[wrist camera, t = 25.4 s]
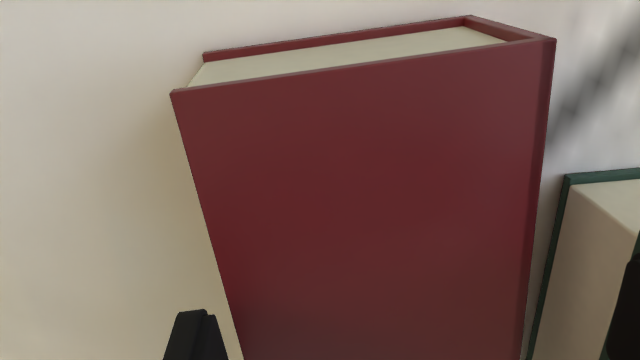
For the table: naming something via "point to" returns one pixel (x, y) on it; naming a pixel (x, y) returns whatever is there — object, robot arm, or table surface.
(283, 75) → the burgundy book
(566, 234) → the green book
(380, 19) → the table surface
